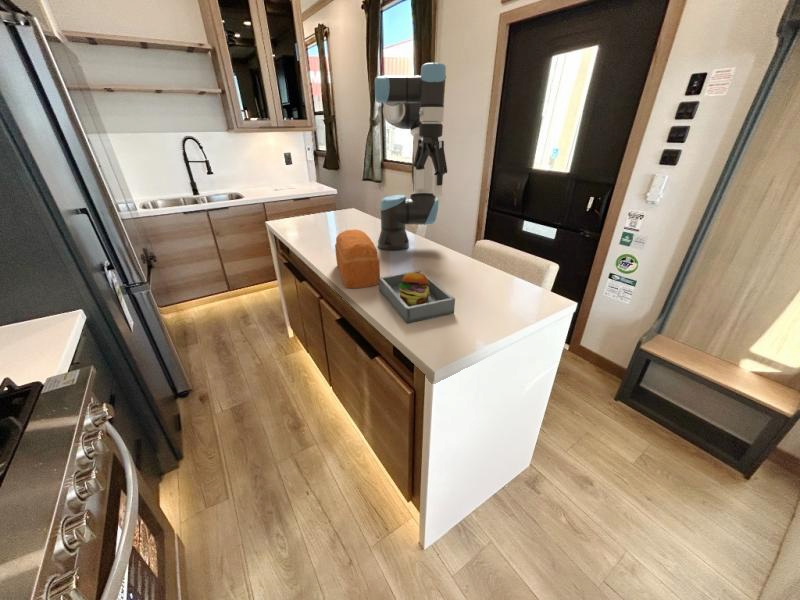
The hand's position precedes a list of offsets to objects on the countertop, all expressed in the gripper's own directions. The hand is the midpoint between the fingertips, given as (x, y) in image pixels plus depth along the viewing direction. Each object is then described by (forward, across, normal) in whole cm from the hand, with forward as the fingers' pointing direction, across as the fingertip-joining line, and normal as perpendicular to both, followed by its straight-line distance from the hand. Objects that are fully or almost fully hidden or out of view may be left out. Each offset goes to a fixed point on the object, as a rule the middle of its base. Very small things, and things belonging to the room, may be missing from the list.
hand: (428, 191), depth 113 cm
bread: (+31, -8, -26) cm, 41 cm away
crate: (+30, +21, -14) cm, 39 cm away
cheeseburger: (+29, +21, -14) cm, 39 cm away
